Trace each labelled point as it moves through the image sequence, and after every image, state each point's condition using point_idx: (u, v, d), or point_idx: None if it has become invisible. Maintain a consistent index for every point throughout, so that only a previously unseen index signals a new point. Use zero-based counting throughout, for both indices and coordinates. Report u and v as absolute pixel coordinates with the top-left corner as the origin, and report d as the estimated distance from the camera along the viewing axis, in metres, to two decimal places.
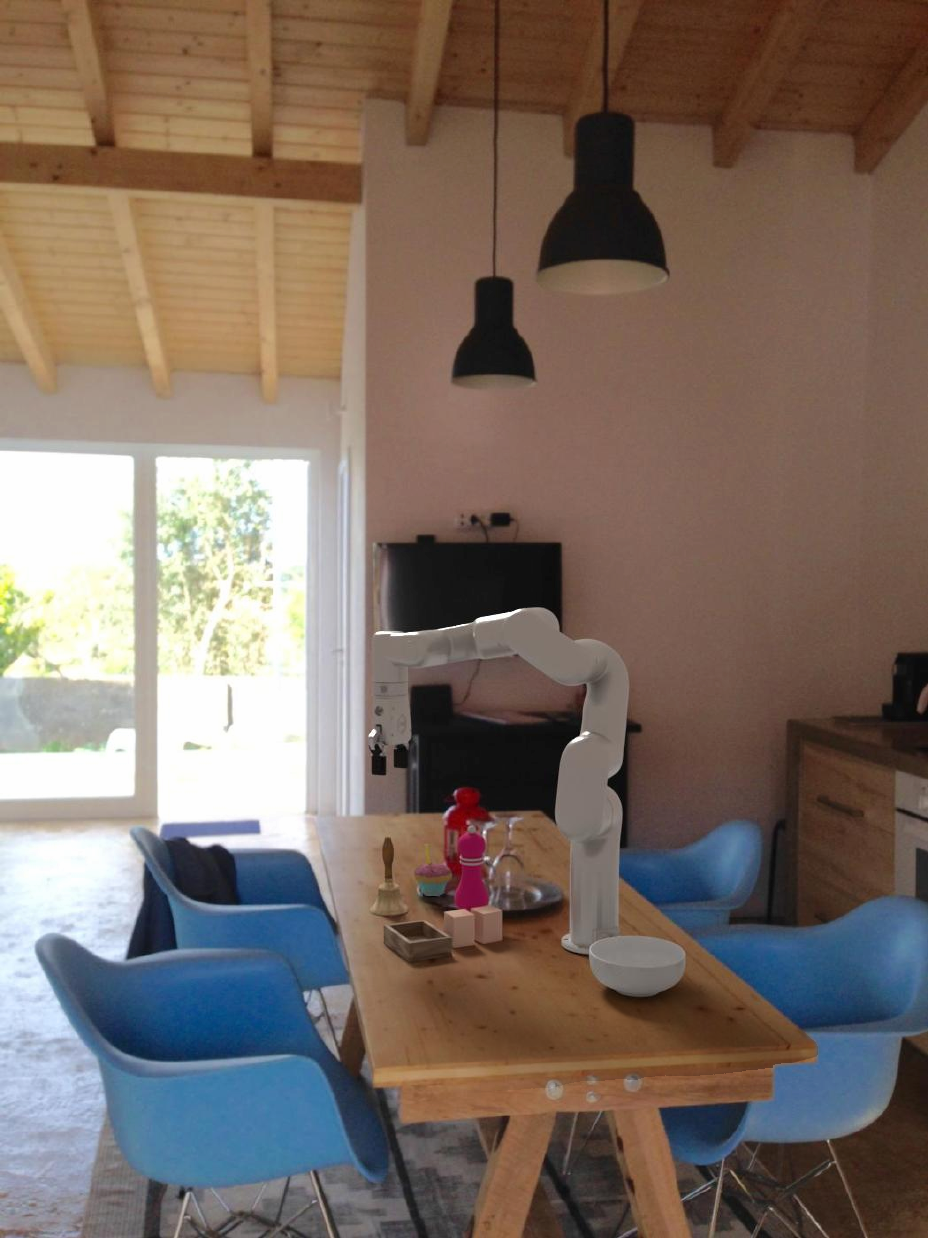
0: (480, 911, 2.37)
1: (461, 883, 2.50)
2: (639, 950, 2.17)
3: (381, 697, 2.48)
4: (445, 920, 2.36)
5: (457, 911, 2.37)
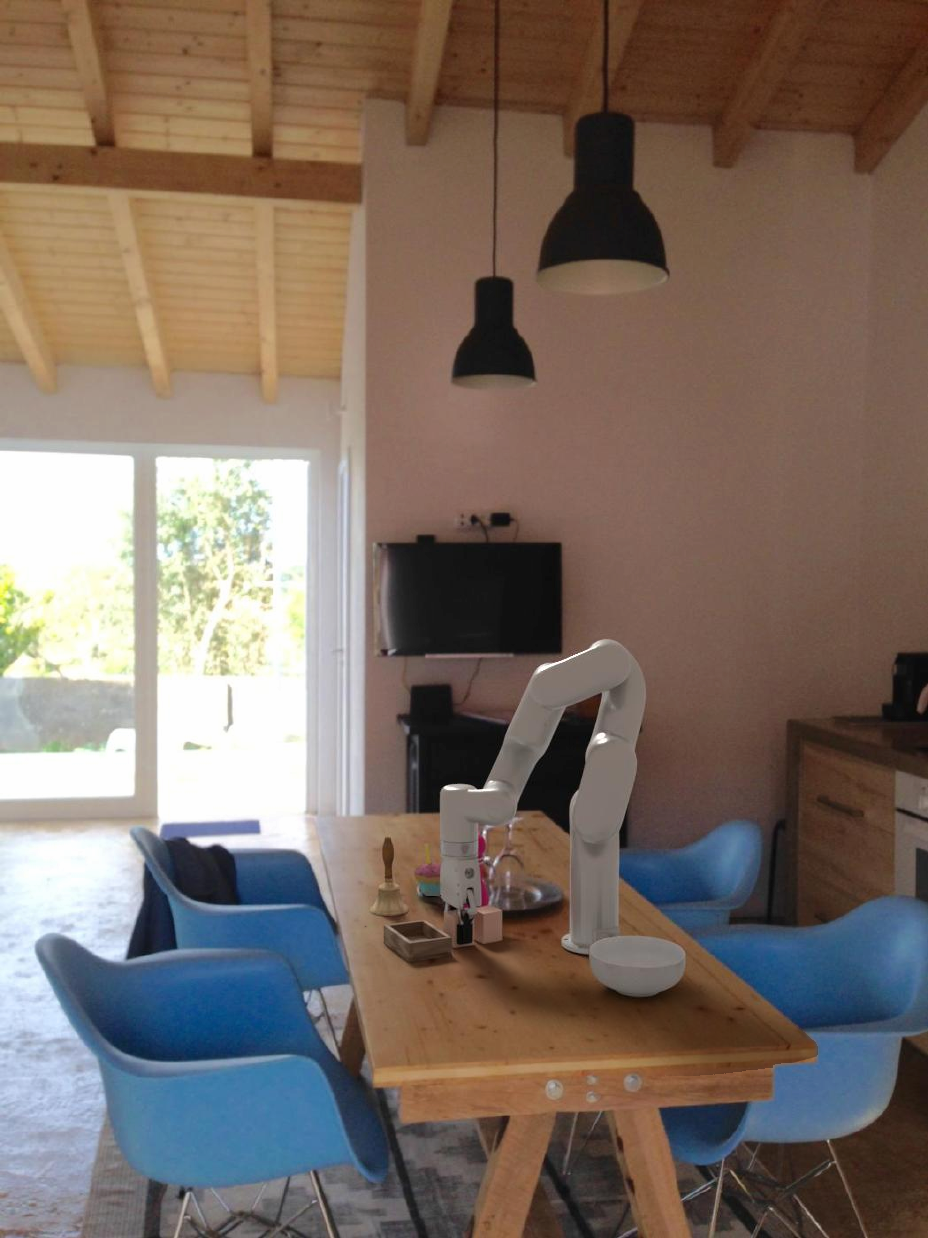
0: (480, 911, 2.37)
1: None
2: (639, 950, 2.17)
3: (467, 858, 2.32)
4: (445, 920, 2.36)
5: (457, 911, 2.37)
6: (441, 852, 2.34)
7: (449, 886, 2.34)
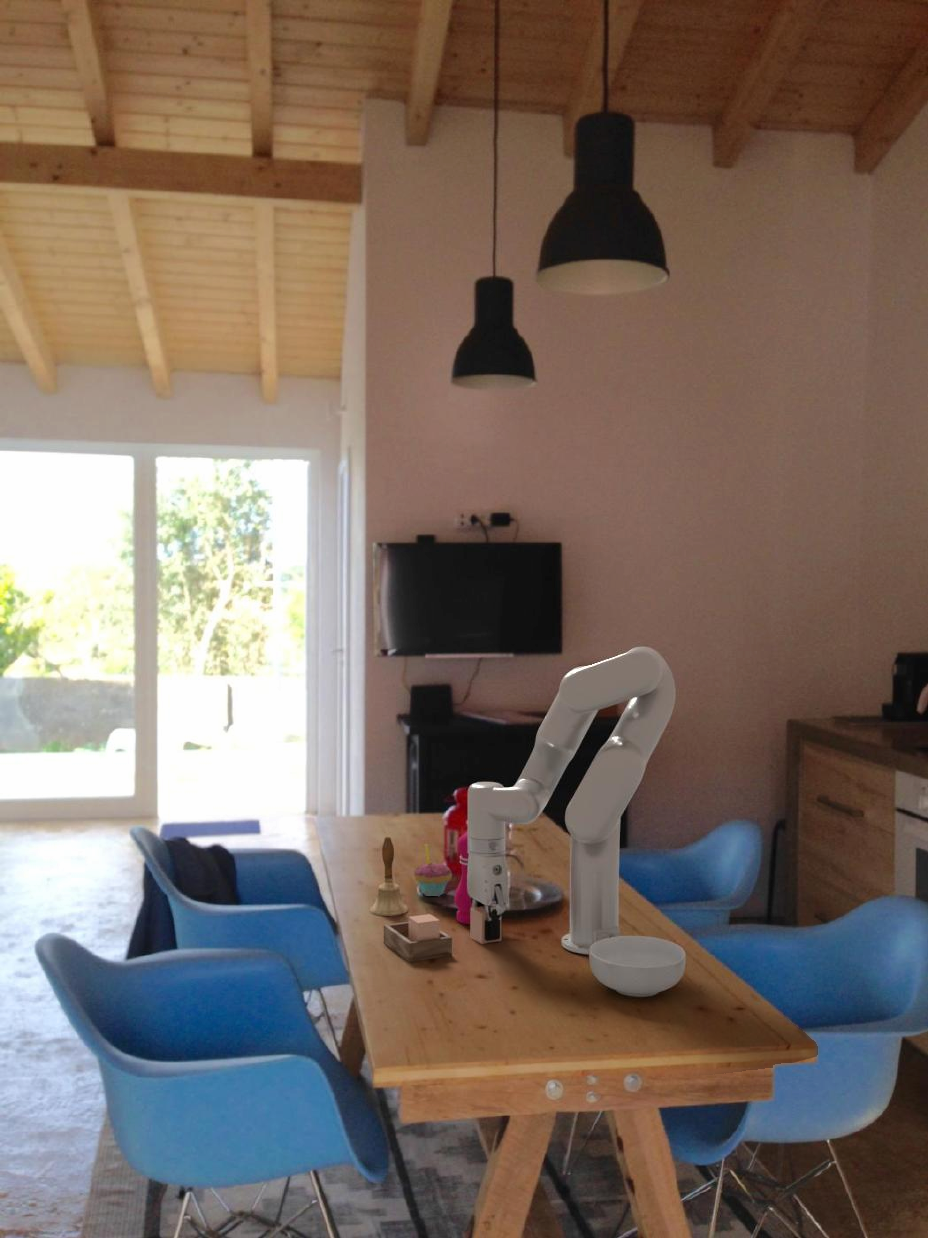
0: (479, 911, 2.37)
1: (461, 883, 2.50)
2: (639, 950, 2.17)
3: (494, 855, 2.35)
4: (409, 926, 2.30)
5: (422, 916, 2.30)
6: (469, 849, 2.37)
7: (477, 883, 2.37)
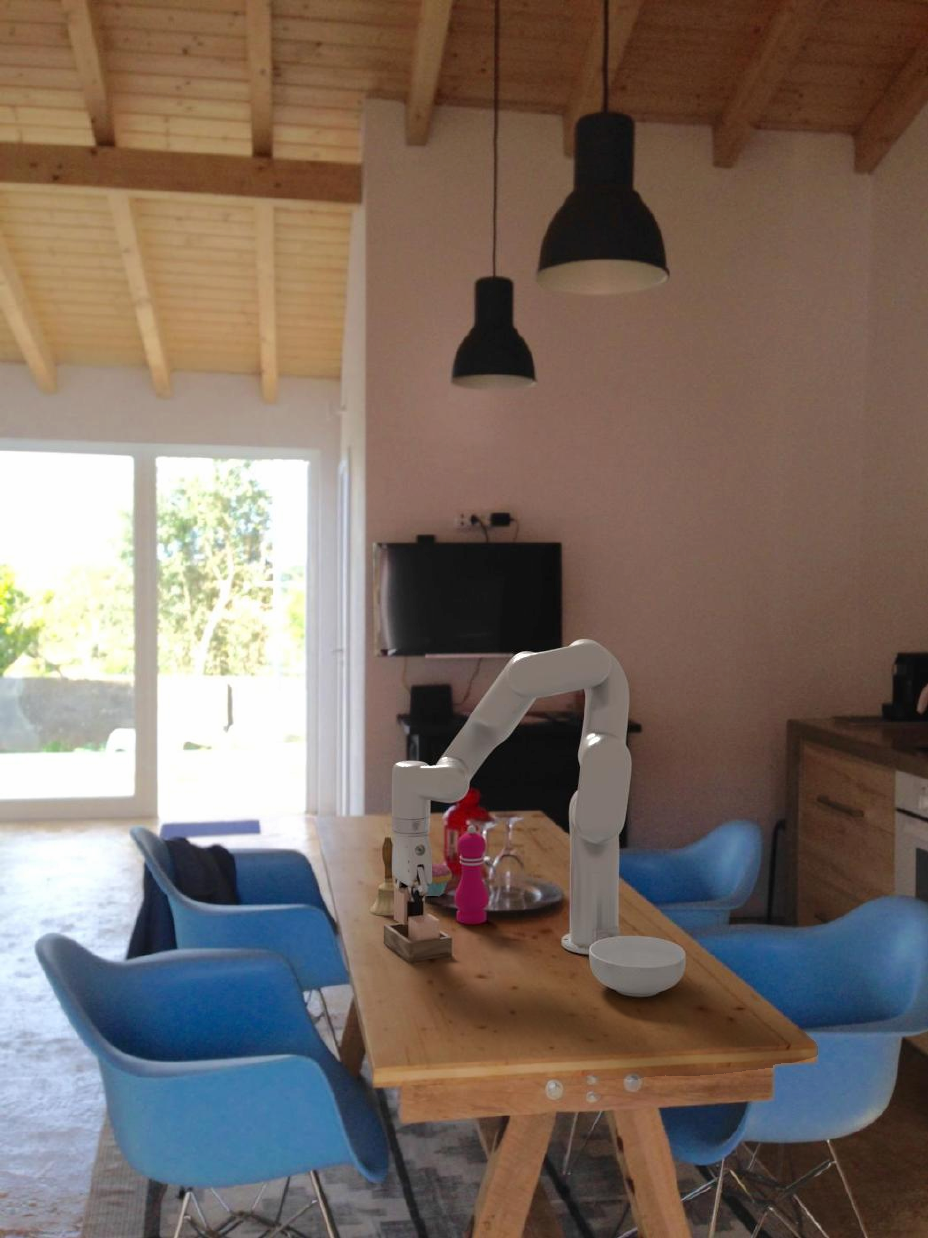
0: (402, 892, 2.33)
1: (461, 883, 2.50)
2: (639, 950, 2.17)
3: (418, 835, 2.31)
4: (409, 926, 2.30)
5: (422, 916, 2.30)
6: (392, 829, 2.33)
7: (400, 863, 2.32)
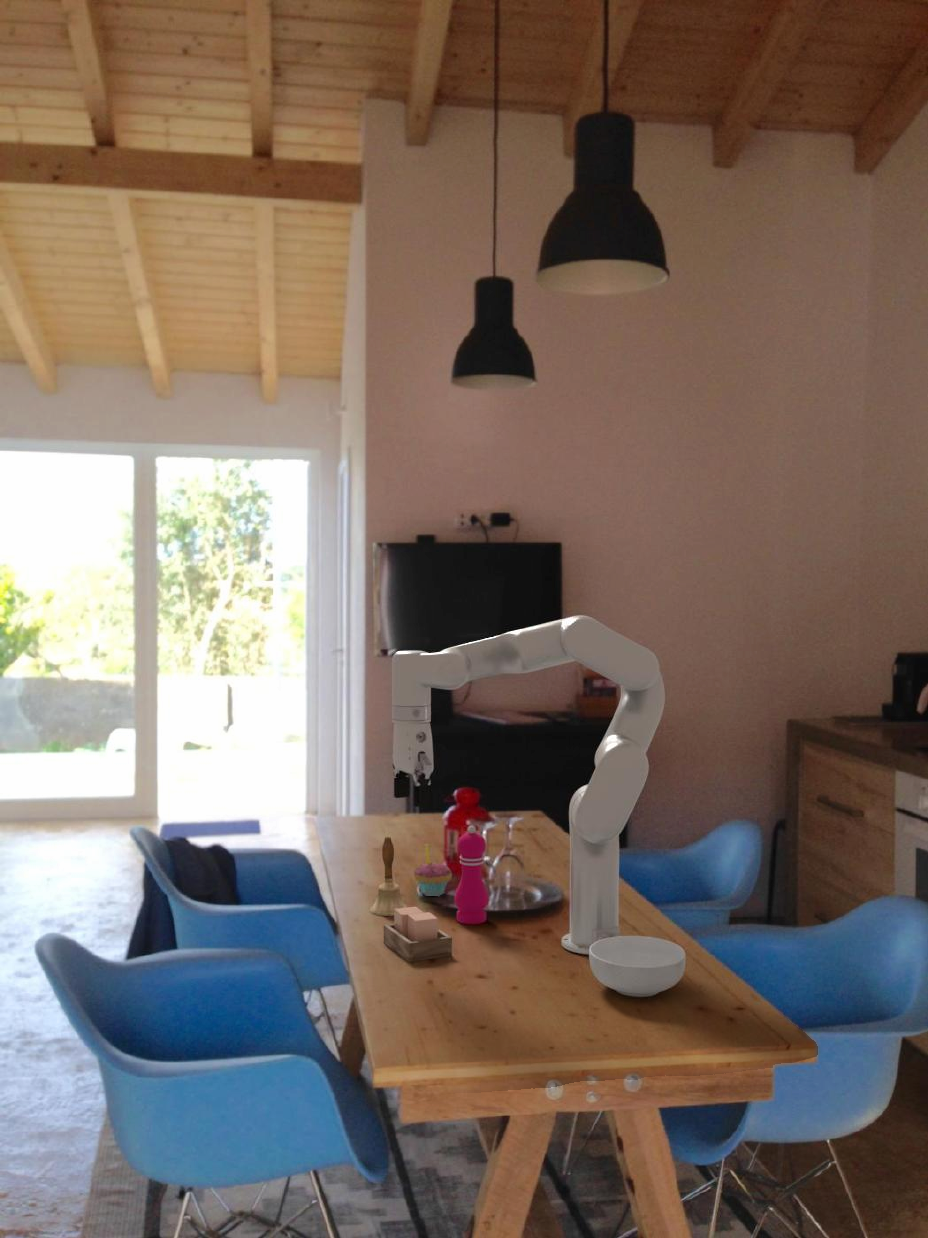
0: (401, 912, 2.33)
1: (461, 883, 2.50)
2: (639, 950, 2.17)
3: (418, 722, 2.30)
4: (408, 923, 2.31)
5: (421, 914, 2.32)
6: (393, 717, 2.32)
7: (401, 752, 2.32)
